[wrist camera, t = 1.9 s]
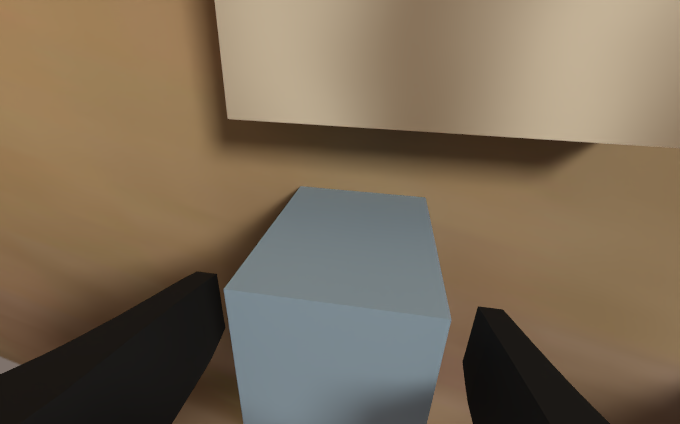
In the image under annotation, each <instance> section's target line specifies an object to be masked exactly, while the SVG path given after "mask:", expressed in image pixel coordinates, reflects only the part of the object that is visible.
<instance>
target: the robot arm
mask: <svg viewBox="0 0 680 424" xmlns="http://www.w3.org/2000/svg"><path fill="white" fill-rule="evenodd" d="M224 330H225V323H224V317H223V311H222V304H221V298H220V291H219V285H218V279H217V274H212V273H204V272H195V273H193V274H191V275H189V276H187V277H186V278H184V279H182V280H180V281H178V282H177V283H175V284H173V285H171V286H170V287H168V288H166V289H164V290H163V291H161V292H159V293H157V294H156V295H154V296H152V297H151V298H149V299H147V300H145V301H144V302H142V303H140V304H138V305H137V306H135V307H133V308H131V309H130V310H128V311H126V312H124V313H123V314H121V315H119V316H117V317H115V318H113V319H112V320H110V321H108V322H106V323H104V324H102V325H100V326H98V327H97V328H95V329H93V330H91V331H89V332H87V333H85V334H83V335H82V336H80V337H78V338H76V339H74V340H72V341H70V342H68V343H66V344H64V345H62V346H60V347H58V348H56V349H54V350H52V351H50V352H48V353H46V354H44V355H42V356H40V357H37V358H35V359H33V360H31V361H29V362H27V363H24V364H22V365H20V366H18V367H16V368H13V369H11V370H9V371H7V372H5V373H2V374H0V424H172V423H173V421H174V419H175V418H176V416H177V414H178V413H179V411H180V410H181V408H182V406H183V405H184V403H185V402H186V400H187V398H188V397H189V395H190V393H191V392H192V390H193V389H194V387H195V385H196V384H197V382H198V380H199V379H200V377H201V375H202V374H203V372H204V371H205V369H206V367H207V365H208V364H209V362H210V360H211V358H212V356H213V354H214V352H215V350H216V348H217V345H218V343H219V341H220V339H221V336H222V334H223V332H224ZM463 370H464V378H465V386H466V393H467V400H468V405H469V409H470V414H471V418H472V422H473V424H610V423H609V422H608V421H607V420H606V419H605V418H604V417H603V416H602V415H601V414H600V413H599V412H598V411H597V410H596V409H595V408H594V407H593V406H592V405H591V404H590V403H589V402H588V401H587V400H586V399H585V398H584V397H583V396H582V395H581V394H580V393H579V392H578V391H577V390H576V389H575V388H574V387H573V386H572V385H571V384H570V383H569V382H568V381H567V380H566V379H565V378H564V376H563V375H562V374H561V373H560V372H559V371H558V370H557V369H556V368H555V367H554V366H553V365H552V364H551V363H550V361H549V360H548V359H547V358H546V357H545V356H544V355H543V354H542V353H541V352H540V350H539V349H538V348H537V347H536V346H535V345H534V344H533V343H532V342H531V340H530V339H529V338H528V337H527V336H526V335H525V334H524V333H523V331H522V330H521V329H520V328H519V327H518V326H517V325H516V324H515V322H514V321H513V320H512V319H511V318H510V317H509V316H508V315H507V314H506V313H505V312H504V310H502V309H494V308H486V307H478V309H477V312H476V316H475V319H474V323H473V327H472V330H471V334H470V337H469V341H468V345H467V348H466V352H465V355H464V359H463Z"/></svg>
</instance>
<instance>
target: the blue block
mask: <svg viewBox="0 0 680 424" xmlns="http://www.w3.org/2000/svg"><path fill="white" fill-rule="evenodd" d="M224 295H225V302H226V308H227V315H228V322H229V329H230V335H231V342H232V349H233V356H234V362H235V369H236V376H237V382H238V389H239V396H240V403H241V409H242V416H243V423H244V424H427V420H428V416H429V411H430V407H431V403H432V399H433V395H434V390H435V386H436V382H437V378H438V374H439V369H440V365H441V361H442V357H443V352H444V348H445V344H446V340H447V336H448V331H449V327H450V323H451V316H450V311H449V306H448V301H447V297H446V292H445V287H444V282H443V278H442V273H441V268H440V264H439V259H438V254H437V249H436V245H435V240H434V235H433V230H432V226H431V221H430V216H429V211H428V207H427V202H426V198H425V197H413V196H402V195H391V194H380V193H369V192H358V191H347V190H335V189H324V188H313V187H302V186H300V188H299V189H298V190H297V192H296V193H295V194H294V196H293V197H292V198H291V200H290V201H289V202H288V204H287V205H286V206H285V208H284V209H283V210H282V212H281V213H280V214H279V216H278V217H277V218H276V220H275V221H274V222H273V224H272V225H271V226H270V228H269V229H268V230H267V232H266V233H265V234H264V236H263V237H262V238H261V240H260V241H259V242H258V244H257V245H256V247H255V248H254V249H253V251H252V252H251V253H250V255H249V256H248V257H247V259H246V260H245V261H244V263H243V264H242V265H241V267H240V268H239V269H238V271H237V272H236V273H235V275H234V276H233V277H232V279H231V280H230V281H229V283H228V284H227V285H226V287H225V288H224Z"/></svg>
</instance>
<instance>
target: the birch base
mask: <svg viewBox="0 0 680 424" xmlns="http://www.w3.org/2000/svg"><path fill="white" fill-rule="evenodd" d="M215 9H216V18H217V27H218V36H219V45H220V54H221V63H222V72H223V81H224V90H225V99H226V108H227V117H228V119H235V120H251V121H266V122H282V123H297V124H313V125H328V126H344V127H359V128H375V129H390V130H406V131H421V132H437V133H452V134H468V135H483V136H499V137H514V138H530V139H545V140H561V141H576V142H592V143H607V144H622V145H638V146H653V147H669V148H680V0H215Z"/></svg>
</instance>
